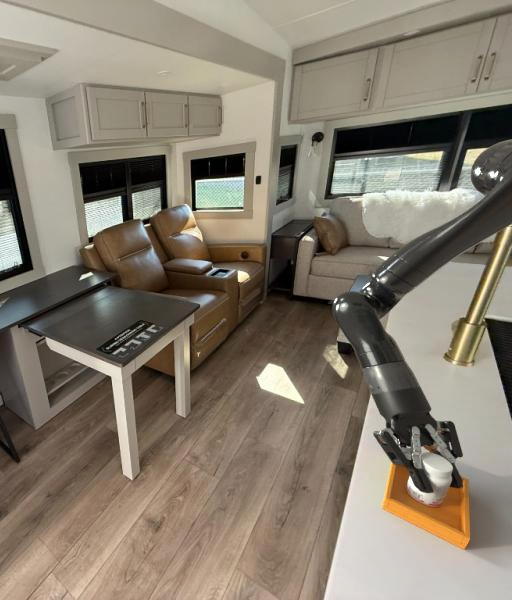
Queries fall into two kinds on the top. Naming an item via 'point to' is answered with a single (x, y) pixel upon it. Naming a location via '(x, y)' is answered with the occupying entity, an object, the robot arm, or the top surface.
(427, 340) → the top surface
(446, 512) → the amber tray
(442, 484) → the pill bottle
